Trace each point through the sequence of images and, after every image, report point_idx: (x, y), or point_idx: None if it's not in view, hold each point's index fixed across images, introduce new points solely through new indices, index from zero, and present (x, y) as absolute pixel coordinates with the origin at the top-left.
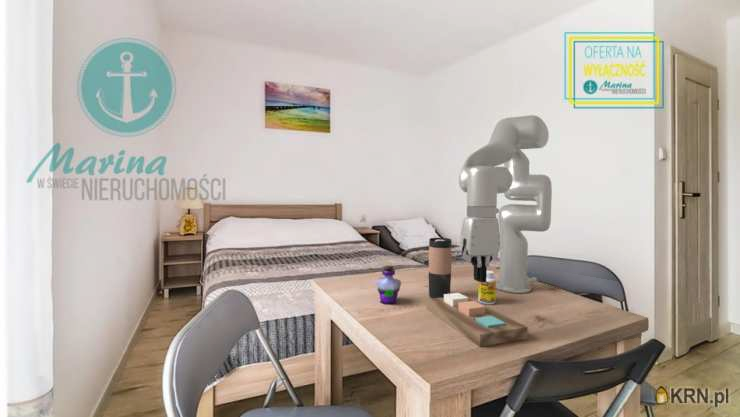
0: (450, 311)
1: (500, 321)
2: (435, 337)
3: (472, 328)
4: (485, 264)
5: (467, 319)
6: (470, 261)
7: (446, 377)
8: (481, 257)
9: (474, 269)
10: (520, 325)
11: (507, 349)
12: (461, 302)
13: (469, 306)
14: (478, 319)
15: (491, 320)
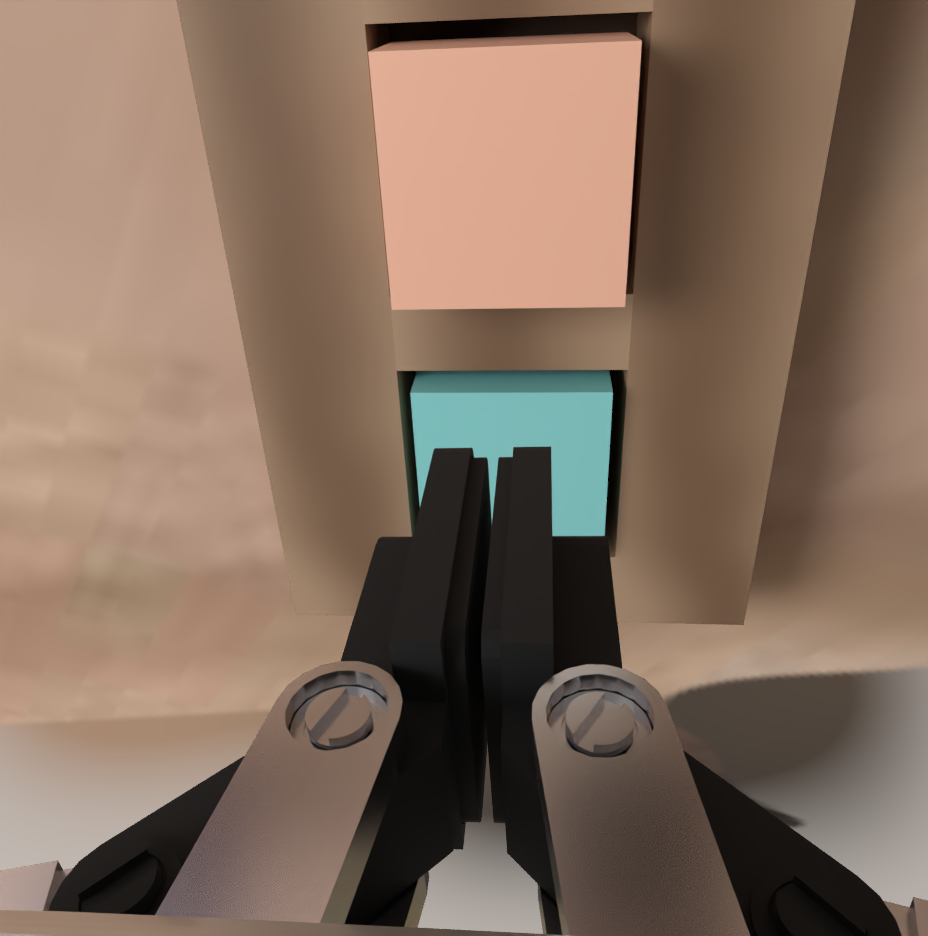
0: (255, 88)
1: (588, 522)
2: (50, 351)
3: (291, 523)
4: (542, 898)
5: (342, 355)
6: (158, 838)
7: (16, 721)
8: (587, 914)
9: (353, 659)
10: (719, 586)
11: None
12: (414, 61)
13: (438, 241)
14: (420, 431)
15: None
